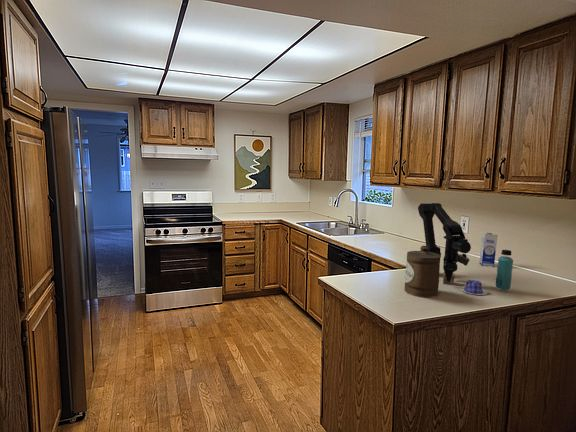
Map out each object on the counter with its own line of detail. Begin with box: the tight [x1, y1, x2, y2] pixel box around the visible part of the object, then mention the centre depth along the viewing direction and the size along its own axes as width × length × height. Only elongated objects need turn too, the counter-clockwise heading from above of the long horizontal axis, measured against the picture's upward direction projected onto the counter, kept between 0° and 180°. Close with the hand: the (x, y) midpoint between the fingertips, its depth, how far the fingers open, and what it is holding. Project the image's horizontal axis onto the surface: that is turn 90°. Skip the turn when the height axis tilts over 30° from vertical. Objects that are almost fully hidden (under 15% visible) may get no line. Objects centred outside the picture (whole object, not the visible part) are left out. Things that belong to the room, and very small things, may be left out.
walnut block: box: [442, 272, 456, 286], centre depth 187 cm, size 5×5×5 cm
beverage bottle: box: [494, 249, 514, 291], centre depth 177 cm, size 6×7×20 cm
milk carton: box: [479, 232, 498, 268], centre depth 225 cm, size 7×7×20 cm
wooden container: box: [404, 245, 441, 298], centre depth 171 cm, size 15×15×22 cm
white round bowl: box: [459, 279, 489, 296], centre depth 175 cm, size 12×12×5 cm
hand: (448, 279), depth 187 cm, fingers open, 9 cm apart
